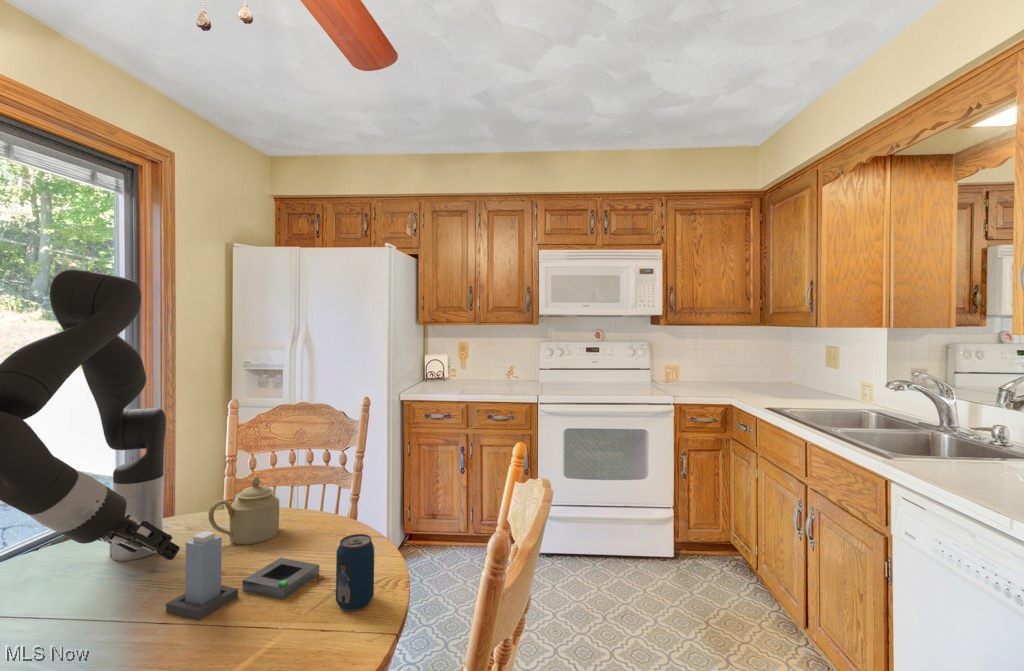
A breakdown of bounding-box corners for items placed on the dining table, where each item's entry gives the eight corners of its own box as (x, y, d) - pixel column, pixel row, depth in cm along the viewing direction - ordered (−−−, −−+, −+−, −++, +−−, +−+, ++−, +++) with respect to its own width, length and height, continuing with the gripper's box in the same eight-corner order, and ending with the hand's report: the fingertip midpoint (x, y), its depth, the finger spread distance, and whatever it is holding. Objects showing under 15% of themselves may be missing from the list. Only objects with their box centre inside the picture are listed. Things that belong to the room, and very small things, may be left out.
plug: (184, 607, 87) (185, 537, 87) (204, 596, 91) (205, 528, 91) (201, 611, 86) (202, 540, 86) (220, 600, 90) (221, 531, 90)
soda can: (374, 591, 95) (375, 531, 95) (372, 611, 88) (373, 546, 88) (338, 594, 94) (339, 534, 94) (332, 615, 87) (333, 549, 87)
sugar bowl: (243, 554, 110) (244, 490, 110) (204, 548, 112) (205, 485, 112) (288, 529, 124) (289, 472, 124) (253, 524, 127) (254, 468, 127)
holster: (165, 614, 86) (166, 603, 86) (205, 591, 94) (206, 581, 94) (199, 622, 84) (199, 611, 84) (237, 599, 91) (237, 588, 91)
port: (242, 592, 94) (242, 577, 94) (280, 569, 103) (280, 554, 103) (283, 601, 91) (283, 585, 91) (319, 576, 100) (319, 561, 100)
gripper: (132, 487, 70) (202, 534, 81) (66, 477, 74) (142, 523, 85) (90, 538, 65) (171, 580, 76) (22, 524, 69) (108, 566, 80)
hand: (156, 550), depth 80 cm, fingers open, 8 cm apart
